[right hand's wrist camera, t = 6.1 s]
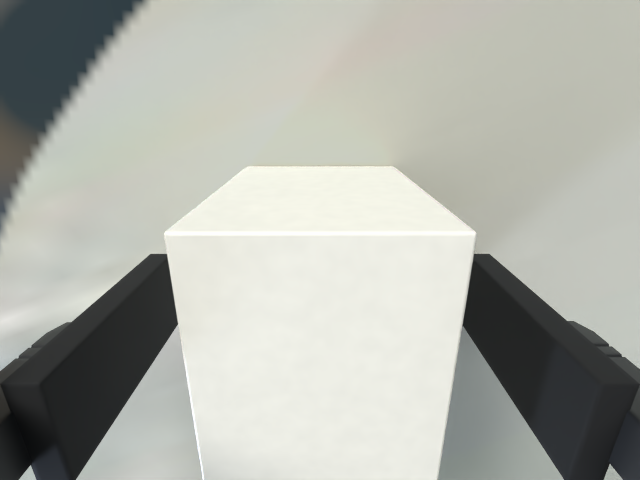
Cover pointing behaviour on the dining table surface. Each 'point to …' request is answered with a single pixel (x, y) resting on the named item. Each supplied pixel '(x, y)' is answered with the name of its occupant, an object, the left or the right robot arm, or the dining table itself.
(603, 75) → the dining table surface
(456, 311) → the brick
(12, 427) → the right robot arm
